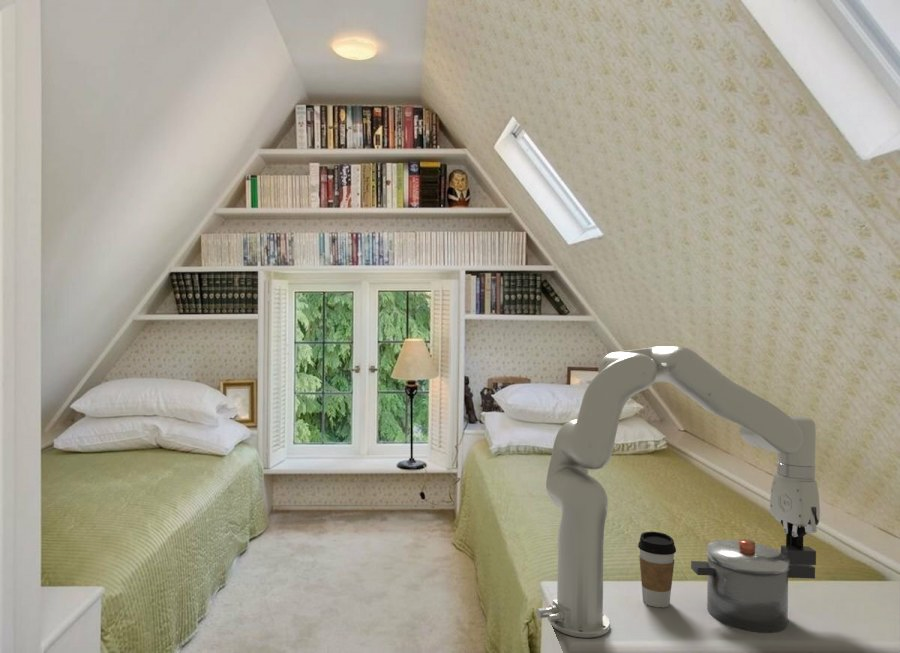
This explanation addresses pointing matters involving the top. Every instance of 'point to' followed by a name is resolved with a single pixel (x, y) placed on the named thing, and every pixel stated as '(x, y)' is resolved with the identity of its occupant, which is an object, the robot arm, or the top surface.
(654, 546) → the coffee cup
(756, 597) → the cooker pot
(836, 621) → the top surface
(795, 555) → the cooker lid
